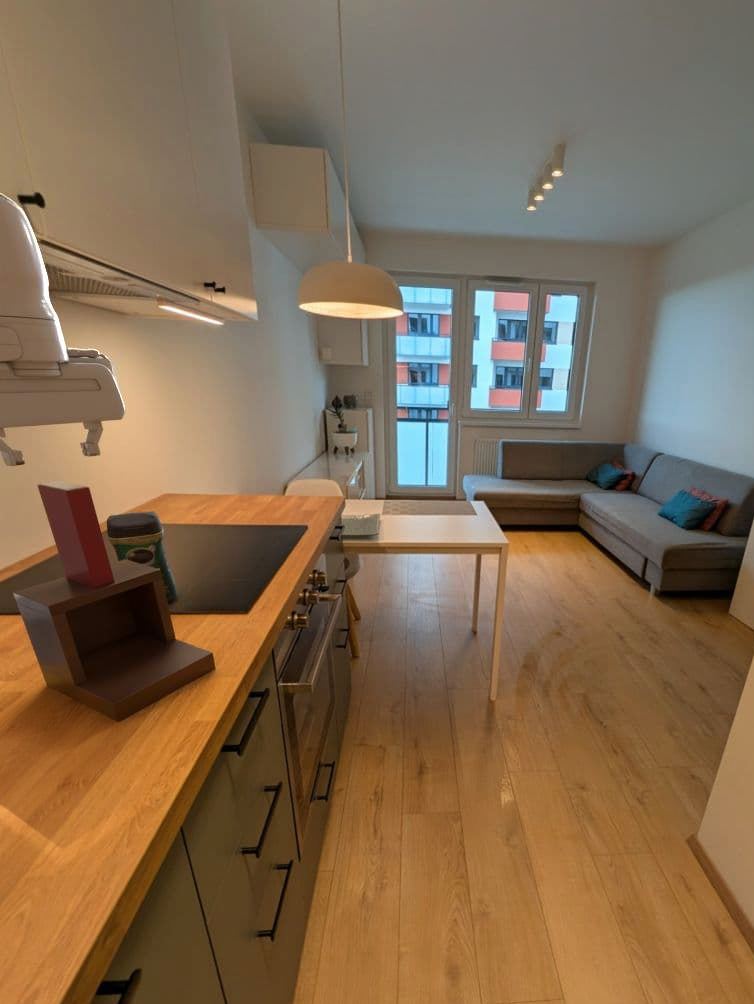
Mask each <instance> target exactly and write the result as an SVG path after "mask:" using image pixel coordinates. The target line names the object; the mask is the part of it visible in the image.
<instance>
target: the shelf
mask: <svg viewBox="0 0 754 1004" xmlns="http://www.w3.org/2000/svg"><path fill="white" fill-rule="evenodd" d="M110 566H111V569H112V573H113V577H114V582H111V583H108V584H105V585H102V586H99V587H96V588H93V587H90V586H87V585H84V584H81V583H78V582H75V581H72V580H69V579H67V578H66V576H64V577H60V578H57V579H54V580H49V581H47V582H43V583H39V584H36V585H32V586H29V587H26V588H23V589H20V590H15V591H13V592H12V594H13V596H14V599H15V602H16V605H17V608H18V611H19V613H20V616H21V618H22V622H23V624H24V627H25V630H26V632H27V636H28V639H29V640H30V643H31V646H32V649H33V651H34V655H35V657H36V660H37V662H38V666H39V668H40V670H41V673H42V676H43V679H44V682H45V684H46V686H48V687H49V688H51V689H53V690H55V691H57V692H59V693H61V694H63V695H65V696H68V697H69V698H71V699H73V700H75V701H77V702H79V703H81V704H83V705H84V706H86V707H89V708H90V709H93V710H94V711H97V712H98V713H101V714H103V715H104V716H107V717H108V718H110V719H112V720H113V721H116V722H118V723H120V722H121V721H123V720H125V719H126V718H129V717H130V716H132V715H133V714H136V713H138V712H140V711H141V710H143V709H145V708H146V707H148V706H150V705H152V704H154V703H156V702H158V701H159V700H161V699H163V698H165V697H166V696H168V695H170V694H172V693H174V692H175V691H177V690H180V689H181V688H183V687H184V686H186V685H188V684H190V683H192V682H193V681H195V680H197V679H199V678H201V677H202V676H204V675H206V674H208V673H209V672H211V671H213V670H215V669H216V663H215V658H214V654H213V653H214V652H212V651H209V650H207V649H204V648H202V647H199V646H196V645H194V644H191V643H187V642H186V641H182V640H180V639H177V638H176V633H175V628H174V625H173V619H172V616H171V611H170V607H169V602H168V603H167V598H166V594H165V589H164V585H163V581H162V576H161V572H160V569H157V568H153V567H150V566H147V565H143V564H140V563H136V562H133V561H129V560H126V559H124V560H121V561H118V560H117V561H115V562H110Z"/></svg>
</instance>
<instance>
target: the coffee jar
mask: <svg viewBox="0 0 754 1004" xmlns="http://www.w3.org/2000/svg"><path fill="white" fill-rule="evenodd" d="M164 532H165V529H164V526H163V525H162V522H161V520H160V518H159V516H158V514H157V512H156V511H141V512H140V511H139V512H128V513H120V514H113V515H112V514H111V515H109V516H108V517H107V519H106V533H107V540H108V541H109V543H110V544H111V545H112V547H113V549H114V551H115V555H116V558H117V561H121V560H124V559H126V560H129V561H133V562H136V563H140V564H143V565H147V566H150V567H153V568H157V569H160V572H161V576H162V581H163V585H164V589H165V594H166V598H167V603H168V604H169V603H171V602H173V601H174V600H176V599H177V598H178V595H179V590H178V587H177V584H176V580H175V578H174V575H173V572H172V569H171V567H170V564H169V561H168V558H167V555H166V551H165V547H164V536H165V533H164Z"/></svg>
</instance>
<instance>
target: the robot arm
mask: <svg viewBox="0 0 754 1004" xmlns="http://www.w3.org/2000/svg"><path fill="white" fill-rule="evenodd" d="M49 285H50V284H49V277H48V273H47V270H46V266H45V263H44V260H43V256H42V253H41V249H40V247H39V245H38V242H37V238H36V236H35V233H34V230H33V228H32V225H31V223H30V221H29V218H28V217H27V215H26V213H25V211H24V210H23V208H22V207H21V206H19V204H18V203H17V202H15V201H14V200H13V199H11V198H10V197H9V196H7V195H5V194H4V193H2V192H0V453H1V454H0V455H1V456H2V460H3V462H4V464H5V465H6V466H7V467H17V466H24V465H25V464H26V462H25V459H24V455H23V452H22V450H18V449H13V448H11V446H9V444H7V442H5V440H3V439H5V438H6V437H7V435H6V432H5V429H8V428H9V429H10V428H23V427H37V426H51V425H65V424H66V425H67V424H81V423H82V426H83V429H84V430H88V431H87V434H86V439H85V442H84V441H83V442H79V445H80V448H81V449H82V450H81V453H82V454H83V456H84V457H90V458H91V457H98V456H101V450H100V446H99V443H100V440H101V437H102V435H103V431H104V428H103V427H104V426H103V422H110V421H111V422H112V421H121V420H123V418H124V417H125V414H126V408H125V404H124V401H123V397H122V395H121V392H120V389H119V387H118V384H117V381H116V379H115V372H114V368H113V364H112V362H111V360H110V359H109V358H108V357H107V356H106V355H105V354H104V353H101V352H100V351H99V350H98V349H95V348H85V349H84V348H83V349H82V348H75V347H67V345H66V342H65V338H64V335H63V330H62V327H61V324H60V319H59V317H58V314H57V313H56V312H55V310H54V308H53V306H52V303H51V299H50V293H49Z"/></svg>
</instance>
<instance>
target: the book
mask: <svg viewBox="0 0 754 1004" xmlns="http://www.w3.org/2000/svg"><path fill="white" fill-rule="evenodd" d="M37 489H38V492H39V495H40V499H41V501H42V505H43V509H44V511H45V514H46V518H47V520H48V524H49V527H50V531H51V533H52V536H53V540H54V543H55V545H56V550H57V552H58V556H59V560H60V563H61V565H62V568H63V571H64V575H65V577H66V578H67V579H69V580H72V581H75V582H78V583H81V584H84V585H87V586H90V587H93V588H96V587H99V586H102V585H105V584H108V583H111V582H114V577H113V573H112V569H111V566H110V564H111V562H110V559H109V555H108V552H107V551H108V550H107V548H106V544H105V541H104V536H103V533H102V529H101V526H100V522H99V518H98V515H97V511H96V508H95V504H94V499H93V496H92V492H91V489H90V487H89V486H87V485H82V484H79V483H78V484H77V483H72V482H67V481H62V480H56V481H48V482H43V483H42V482H41V483H38V484H37Z"/></svg>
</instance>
